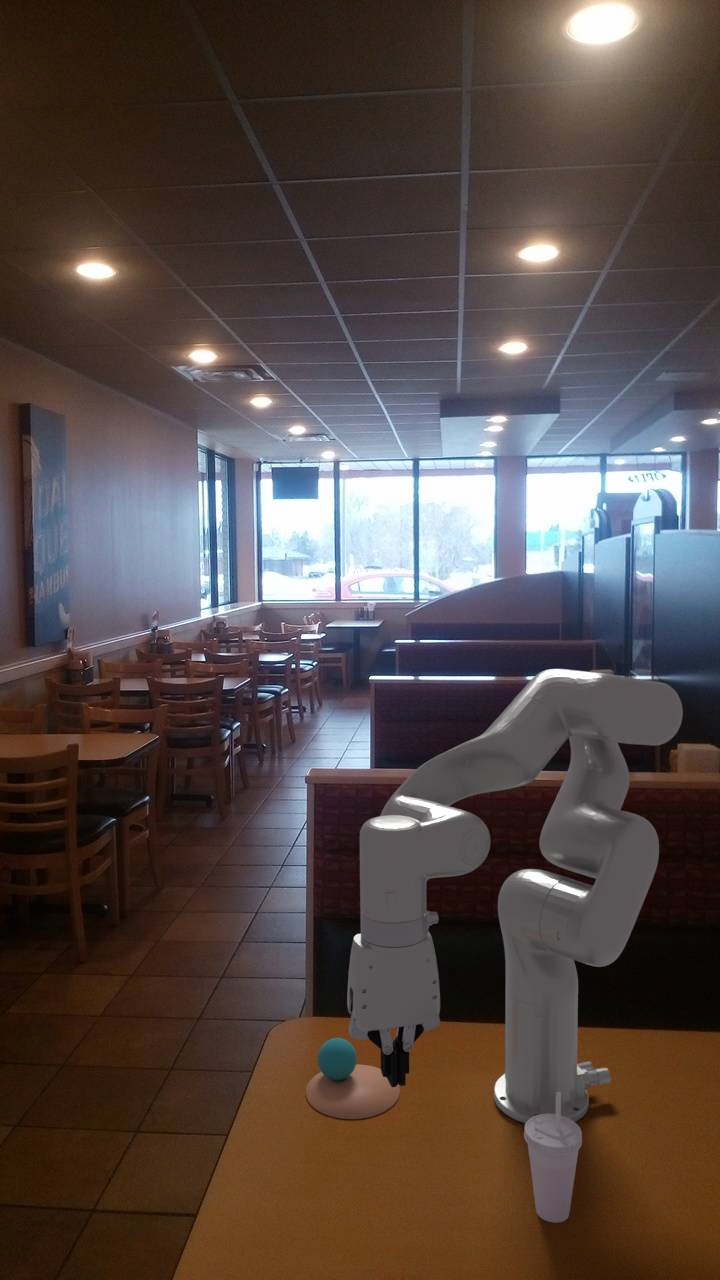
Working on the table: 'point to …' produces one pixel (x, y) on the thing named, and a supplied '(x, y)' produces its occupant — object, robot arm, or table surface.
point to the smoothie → (553, 1162)
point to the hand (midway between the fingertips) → (395, 1079)
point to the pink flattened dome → (352, 1094)
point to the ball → (337, 1059)
